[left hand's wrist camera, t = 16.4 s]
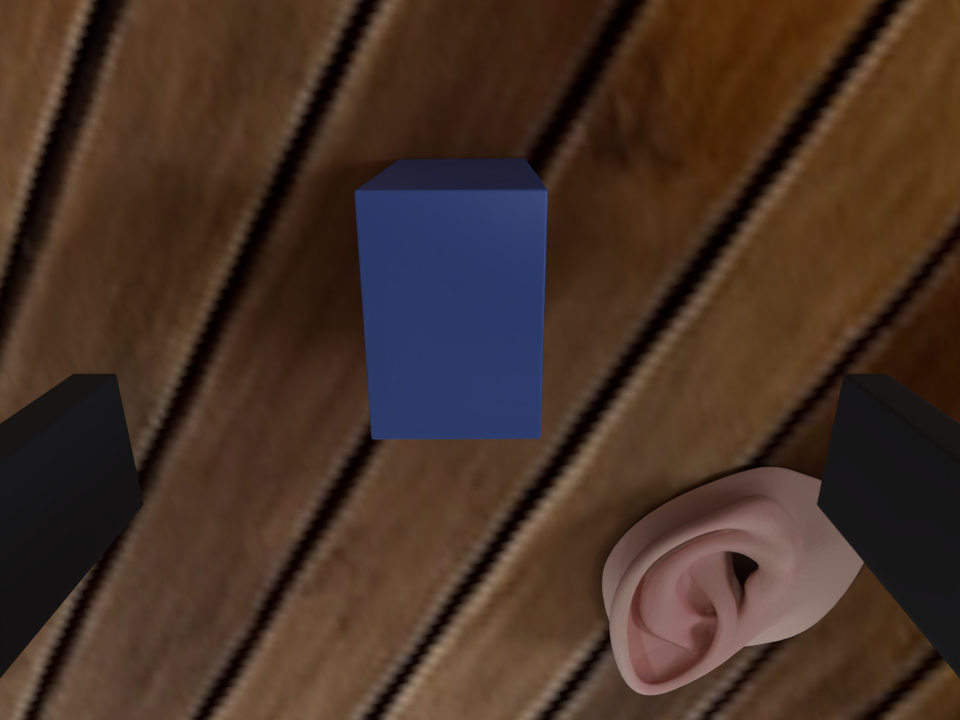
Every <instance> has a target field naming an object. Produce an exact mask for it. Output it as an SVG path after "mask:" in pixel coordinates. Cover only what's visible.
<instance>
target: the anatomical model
mask: <svg viewBox="0 0 960 720" xmlns="http://www.w3.org/2000/svg"><path fill="white" fill-rule="evenodd" d="M821 482H822V481H820V480H818V479H816V478H813V477H810V476H807V475H804V474H801V473H798V472H795V471H792V470H789V469H785V468H779V467H760V468H755V469H751V470H747V471H743V472H739V473H736V474H733V475H730V476H727V477H724V478H721V479H719V480H716V481H714V482H711V483H709V484H706V485H703V486H701V487H698V488H696V489H694V490H692V491H689V492H687V493H685V494H683V495H681V496H679V497H677V498H675V499H673V500H671V501H669V502H667V503H665V504H664V505H662V506H660V507H659V508H657V509H656V510H654V511H652V512H651V513H649V514H648V515H647V516H645V517H644V518H643V519H641V520H640V521H639V522H638V523H636V524H635V525H634V526H633V527H632V528H631V529H630V530H629V531H628V532H627V533H626V534H625V535H624V536H623V537H622V538H621V539H620V541H619V542H618V543H617V544H616V546H615V547H614V548H613V550H612V552H611V554H610V555H609V557H608V559H607V561H606V564H605V567H604V571H603V577H602V591H603V598H604V604H605V608H606V612H607V615H608V618H609V628H610V637H611V644H612V648H613V653H614V656H615V660H616V663H617V665H618V668H619V670H620V673H621V675H622V676H623V678H624V680H625V681H626V683H627V684H628V685H629V686H630V687H631V688H632V689H633V690H634V691H636V692H638V693H640V694H644V695H657V694H661V693H665V692H668V691H671V690H674V689H676V688H678V687H681V686H683V685H685V684H687V683H690V682H692V681H693V680H695V679H697V678H699V677H701V676H703V675H705V674H706V673H708V672H710V671H711V670H713V669H714V668H716V667H717V666H719V665H720V664H722V663H723V662H725V661H726V660H727V659H728V658H730V657H731V656H732V655H734V654H735V653H736V652H737V651H739V650H740V649H741V648H742V647H744V646H751V645H757V644H763V643H768V642H773V641H778V640H782V639H785V638H788V637H791V636H794V635H797V634H799V633H801V632H803V631H805V630H806V629H808V628H809V627H811V626H812V625H814V624H815V623H816V622H818V621H819V620H820V619H821V618H822V617H824V616H825V615H826V614H827V612H828V611H829V610H830V609H831V608H832V607H833V606H834V605H835V604H836V603H837V602H838V600H839V599H840V598H841V597H842V595H843V594H844V593H845V592H846V590H847V589H848V587H849V586H850V584H851V583H852V581H853V580H854V578H855V577H856V575H857V573H858V572H859V570H860V568H861V567H862V565H863V563H864V562H863V560H862V559H861V558H860V557H859V555H858V554H857V553H856V552H855V551H854V549H853V548H852V547H851V546H850V545H849V543H848V542H847V541H846V540H845V538H844V537H843V536H842V535H841V534H840V532H839V531H838V530H837V529H836V528H835V526H834V525H833V524H832V523H831V522H830V520H829V519H828V518H827V517H826V515H825V514H824V513H823V512H822V511H821V509H820V508H819V507H818V506H817V501H818V496H819V491H820V486H821Z"/></svg>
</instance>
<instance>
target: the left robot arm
mask: <svg viewBox="0 0 960 720" xmlns="http://www.w3.org/2000/svg"><path fill="white" fill-rule="evenodd" d="M142 506H143V501H142V496H141V491H140V486H139V482H138V477H137V472H136V467H135V463H134V458H133V453H132V448H131V443H130V439H129V434H128V429H127V424H126V420H125V415H124V410H123V405H122V400H121V396H120V391H119V386H118V381H117V377H116V374H73V375H71V376H70V377H68V378H67V379H65V380H64V381H62V382H61V383H59V384H58V385H56V386H55V387H54V388H52V389H51V390H49V391H48V392H46V393H45V394H43V395H42V396H40V397H39V398H37V399H36V400H34V401H33V402H32V403H30V404H29V405H27V406H26V407H24V408H23V409H21V410H20V411H18V412H17V413H15V414H14V415H12V416H11V417H10V418H8V419H7V420H5V421H4V422H2V423H1V424H0V678H1V677H2V675H3V674H4V673H5V672H6V671H7V669H8V668H9V667H10V666H11V664H12V663H13V662H14V661H15V660H16V658H17V657H18V656H19V655H20V654H21V652H22V651H23V650H24V649H25V648H26V646H27V645H28V644H29V643H30V641H31V640H32V639H33V638H34V637H35V635H36V634H37V633H38V632H39V631H40V629H41V628H42V627H43V626H44V625H45V623H46V622H47V621H48V620H49V618H50V617H51V616H52V615H53V614H54V612H55V611H56V610H57V609H58V608H59V606H60V605H61V604H62V603H63V601H64V600H65V599H66V598H67V597H68V595H69V594H70V593H71V592H72V591H73V589H74V588H75V587H76V586H77V585H78V583H79V582H80V581H81V580H82V578H83V577H84V576H85V575H86V574H87V572H88V571H89V570H90V569H91V568H92V566H93V565H94V564H95V563H96V562H97V560H98V559H99V558H100V557H101V555H102V554H103V553H104V552H105V551H106V549H107V548H108V547H109V546H110V545H111V543H112V542H113V541H114V540H115V538H116V537H117V536H118V535H119V534H120V532H121V531H122V530H123V529H124V528H125V526H126V525H127V524H128V523H129V522H130V520H131V519H132V518H133V517H134V515H135V514H136V513H137V512H138V511H139V509H140V508H141V507H142ZM817 506H818V507H819V508H820V509H821V511H822V512H823V513H824V514H825V515H826V517H827V518H828V519H829V520H830V522H831V523H832V524H833V525H834V526H835V528H836V529H837V530H838V531H839V532H840V534H841V535H842V536H843V537H844V538H845V540H846V541H847V542H848V543H849V545H850V546H851V547H852V548H853V549H854V551H855V552H856V553H857V554H858V555H859V557H860V558H861V559H862V560H863V562H864V563H865V564H866V565H867V566H868V568H869V569H870V570H871V571H872V572H873V574H874V575H875V576H876V577H877V578H878V580H879V581H880V582H881V583H882V585H883V586H884V587H885V588H886V589H887V591H888V592H889V593H890V594H891V595H892V597H893V598H894V599H895V600H896V601H897V603H898V604H899V605H900V606H901V608H902V609H903V610H904V611H905V612H906V614H907V615H908V616H909V617H910V618H911V620H912V621H913V622H914V623H915V625H916V626H917V627H918V628H919V629H920V631H921V632H922V633H923V634H924V635H925V637H926V638H927V639H928V640H929V641H930V643H931V644H932V645H933V646H934V648H935V649H936V650H937V651H938V652H939V654H940V655H941V656H942V657H943V658H944V660H945V661H946V662H947V663H948V664H949V666H950V667H951V668H952V669H953V671H954V672H955V673H956V674H957V675H958V677H959V678H960V424H959V423H958V422H956V421H955V420H953V419H952V418H950V417H949V416H948V415H946V414H945V413H943V412H942V411H940V410H939V409H937V408H936V407H934V406H933V405H931V404H930V403H928V402H927V401H926V400H924V399H923V398H921V397H920V396H918V395H917V394H915V393H914V392H912V391H911V390H909V389H908V388H906V387H905V386H904V385H902V384H901V383H899V382H898V381H896V380H895V379H893V378H892V377H890V376H889V375H887V374H844V377H843V381H842V386H841V391H840V396H839V400H838V405H837V410H836V415H835V420H834V424H833V429H832V434H831V439H830V443H829V448H828V453H827V458H826V463H825V467H824V472H823V477H822V482H821V486H820V491H819V496H818V501H817Z"/></svg>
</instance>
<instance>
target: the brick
mask: <svg viewBox="0 0 960 720" xmlns="http://www.w3.org/2000/svg"><path fill="white" fill-rule="evenodd" d="M354 195H355V209H356V223H357V238H358V252H359V266H360V280H361V295H362V309H363V323H364V338H365V352H366V366H367V381H368V395H369V409H370V423H371V437H372V439H539V438H540V436H541V406H542V373H543V339H544V306H545V272H546V239H547V205H548V191H547V189H546V188H545V186H544V185H543V183H542V182H541V181H540V179H539V178H538V176H537V175H536V174H535V172H534V171H533V169H532V168H531V167H530V165H529V164H528V162H527V161H526V160H525V159H399V160H397V161H396V162H395V163H393V164H392V165H390V166H389V167H388V168H386V169H385V170H383V171H382V172H381V173H379V174H378V175H376V176H375V177H374V178H372V179H371V180H369V181H368V182H367V183H365V184H364V185H362V186H361V187H360V188H358V189H357V190H355V192H354Z"/></svg>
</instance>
